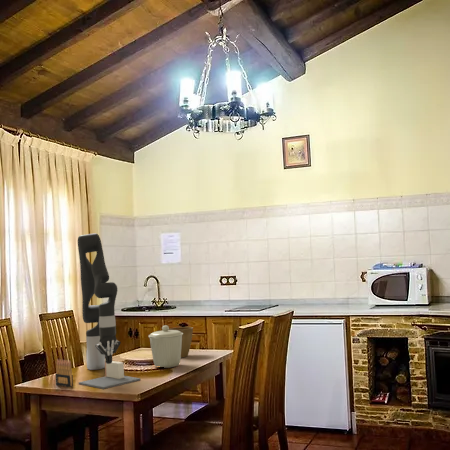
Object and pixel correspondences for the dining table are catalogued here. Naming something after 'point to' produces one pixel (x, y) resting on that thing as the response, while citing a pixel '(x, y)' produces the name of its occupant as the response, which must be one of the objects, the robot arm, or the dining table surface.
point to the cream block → (114, 370)
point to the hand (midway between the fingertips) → (109, 363)
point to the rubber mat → (108, 382)
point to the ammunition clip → (64, 373)
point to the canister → (166, 347)
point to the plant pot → (185, 339)
